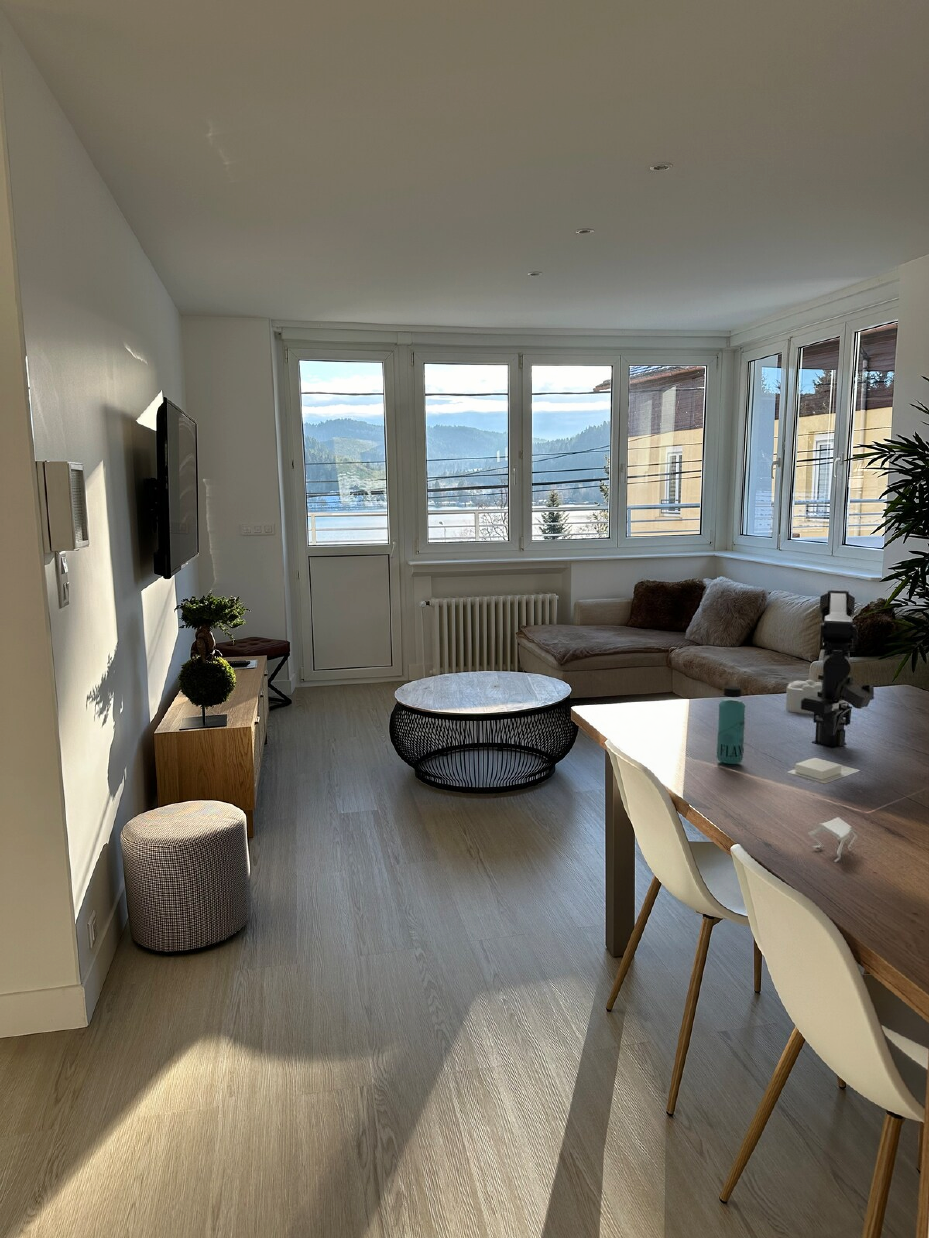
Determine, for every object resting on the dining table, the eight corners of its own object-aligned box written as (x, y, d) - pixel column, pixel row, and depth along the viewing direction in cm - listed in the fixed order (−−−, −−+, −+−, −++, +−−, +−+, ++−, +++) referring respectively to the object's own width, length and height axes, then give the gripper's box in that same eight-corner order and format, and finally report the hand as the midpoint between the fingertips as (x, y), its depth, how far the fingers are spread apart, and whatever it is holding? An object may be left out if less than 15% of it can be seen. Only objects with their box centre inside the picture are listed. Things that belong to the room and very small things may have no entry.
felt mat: (786, 773, 204) (786, 771, 203) (822, 761, 212) (822, 759, 212) (824, 784, 195) (824, 783, 195) (860, 772, 204) (860, 770, 204)
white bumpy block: (787, 703, 269) (789, 677, 267) (832, 707, 263) (834, 680, 262) (784, 711, 259) (786, 684, 258) (830, 716, 254) (832, 688, 252)
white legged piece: (802, 838, 166) (803, 815, 165) (846, 839, 165) (847, 816, 165) (822, 865, 154) (823, 840, 154) (869, 867, 154) (871, 841, 153)
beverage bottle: (715, 768, 208) (717, 689, 205) (716, 759, 214) (719, 683, 211) (742, 770, 206) (746, 690, 203) (743, 762, 212) (747, 684, 209)
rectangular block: (814, 765, 208) (795, 772, 203) (814, 757, 207) (795, 763, 203) (841, 773, 202) (821, 780, 197) (841, 764, 202) (822, 771, 197)
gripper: (845, 683, 189) (841, 750, 192) (889, 672, 200) (885, 735, 202) (800, 674, 198) (797, 738, 201) (845, 664, 209) (841, 725, 211)
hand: (831, 734), depth 203 cm, fingers closed
